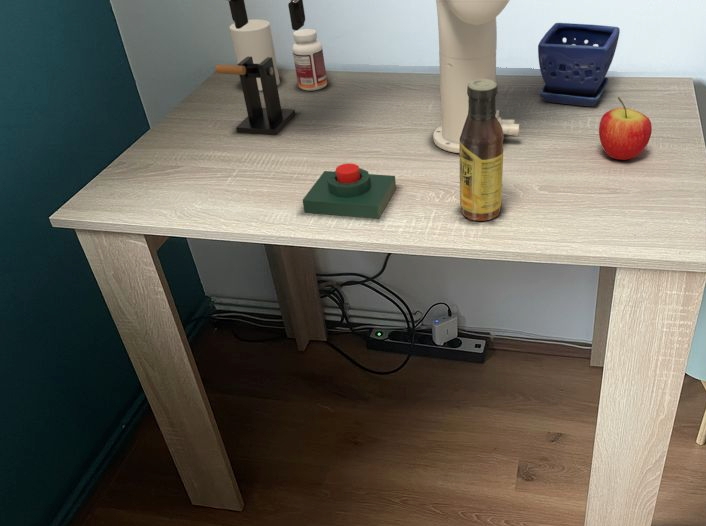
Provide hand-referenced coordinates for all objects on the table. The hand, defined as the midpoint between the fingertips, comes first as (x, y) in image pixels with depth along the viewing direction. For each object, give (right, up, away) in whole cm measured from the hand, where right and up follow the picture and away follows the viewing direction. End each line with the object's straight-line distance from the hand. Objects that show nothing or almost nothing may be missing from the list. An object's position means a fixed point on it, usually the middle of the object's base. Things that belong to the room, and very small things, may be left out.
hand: (270, 26), depth 114 cm
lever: (-8, -2, +16) cm, 18 cm away
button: (+12, -24, -1) cm, 27 cm away
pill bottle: (0, +5, +41) cm, 41 cm away
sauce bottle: (+33, -30, -4) cm, 45 cm away
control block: (+13, -27, +1) cm, 30 cm away
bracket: (-7, -7, +26) cm, 28 cm away
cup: (-12, +7, +43) cm, 45 cm away
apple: (+58, -18, +9) cm, 61 cm away
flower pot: (+54, 0, +31) cm, 62 cm away
